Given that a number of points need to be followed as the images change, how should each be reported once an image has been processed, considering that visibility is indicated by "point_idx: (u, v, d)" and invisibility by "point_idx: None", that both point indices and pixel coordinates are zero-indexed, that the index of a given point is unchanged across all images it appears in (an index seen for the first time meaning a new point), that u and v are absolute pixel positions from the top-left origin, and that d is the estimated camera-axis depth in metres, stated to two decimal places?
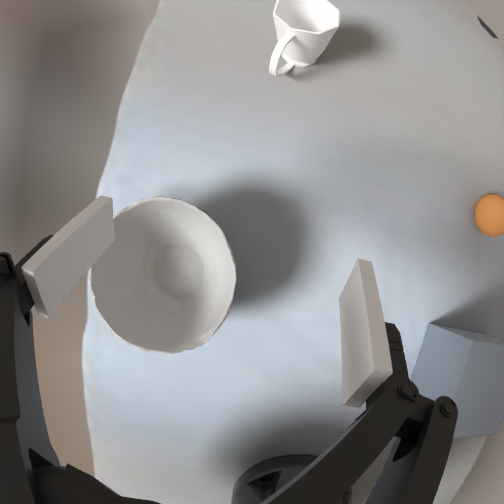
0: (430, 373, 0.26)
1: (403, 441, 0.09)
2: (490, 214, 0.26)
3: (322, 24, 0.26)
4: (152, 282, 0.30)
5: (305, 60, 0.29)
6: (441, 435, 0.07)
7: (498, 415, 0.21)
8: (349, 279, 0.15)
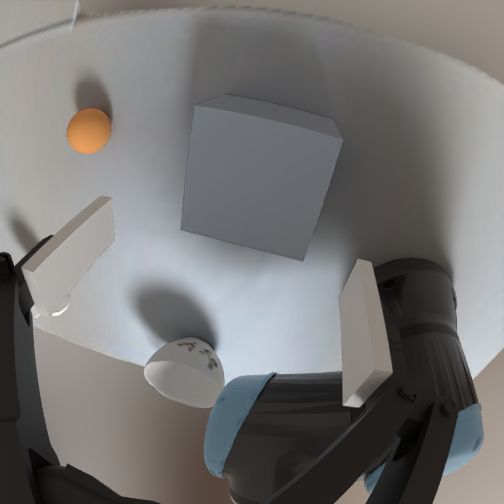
0: None
1: (403, 441, 0.09)
2: (84, 151, 0.27)
3: None
4: None
5: None
6: (440, 435, 0.07)
7: (303, 147, 0.20)
8: (349, 279, 0.15)
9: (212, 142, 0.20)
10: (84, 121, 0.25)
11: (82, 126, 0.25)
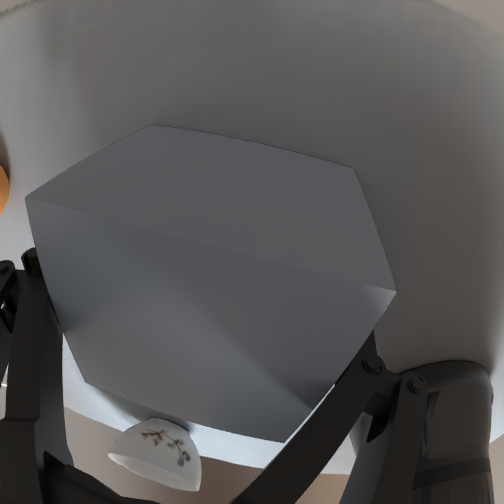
0: None
1: (375, 422, 0.10)
2: None
3: None
4: None
5: None
6: (412, 412, 0.08)
7: (284, 309, 0.07)
8: None
9: (76, 277, 0.08)
10: None
11: None
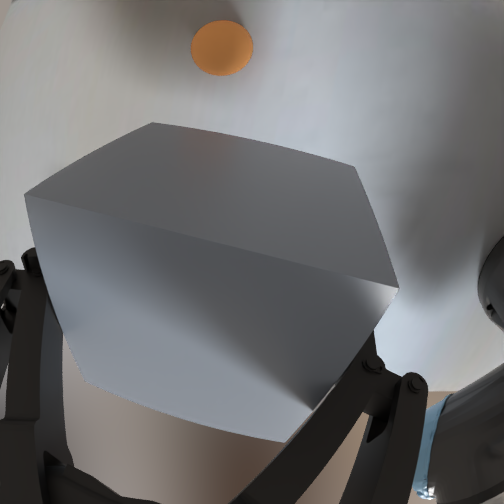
0: None
1: (375, 421, 0.10)
2: (221, 68, 0.20)
3: None
4: None
5: None
6: (412, 413, 0.08)
7: (285, 306, 0.07)
8: None
9: (75, 275, 0.08)
10: (228, 28, 0.18)
11: (226, 33, 0.18)
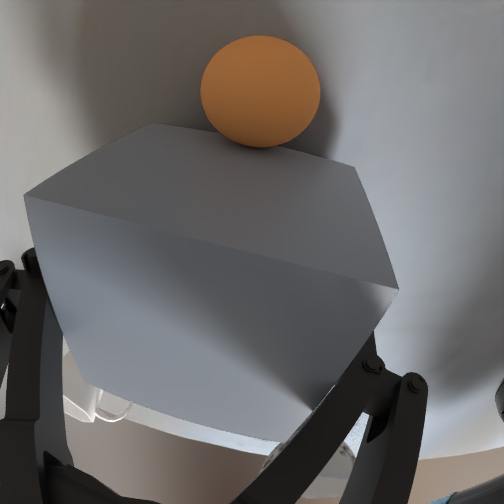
0: None
1: (375, 422, 0.10)
2: (266, 103, 0.10)
3: None
4: None
5: None
6: (412, 412, 0.08)
7: (284, 307, 0.07)
8: None
9: (75, 276, 0.08)
10: (290, 43, 0.10)
11: (288, 44, 0.10)
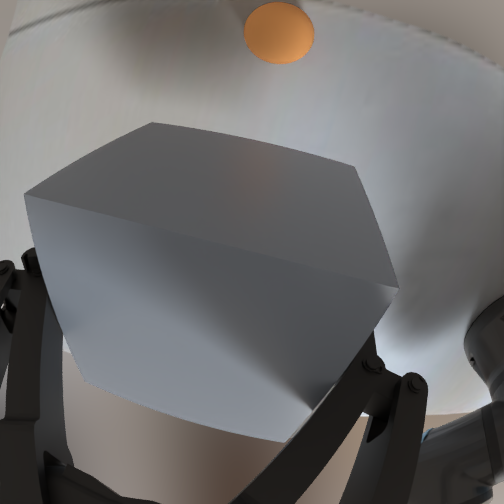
0: None
1: (375, 421, 0.10)
2: None
3: None
4: None
5: None
6: (411, 412, 0.08)
7: (285, 306, 0.07)
8: None
9: (75, 275, 0.08)
10: None
11: None
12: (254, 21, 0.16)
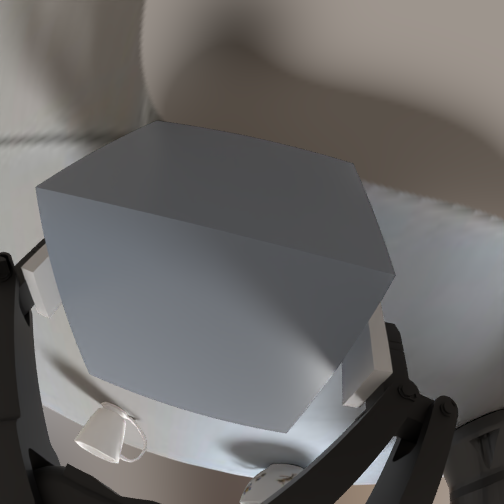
0: None
1: (403, 441, 0.09)
2: None
3: None
4: None
5: (122, 423, 0.36)
6: (440, 435, 0.07)
7: (287, 292, 0.08)
8: None
9: (84, 265, 0.09)
10: None
11: None
12: None
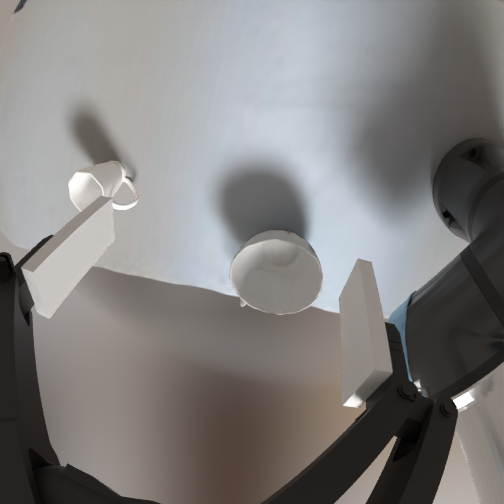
0: None
1: (403, 441, 0.09)
2: None
3: None
4: (287, 267, 0.48)
5: (120, 174, 0.42)
6: (440, 435, 0.07)
7: None
8: (349, 279, 0.15)
9: None
10: None
11: None
12: None
